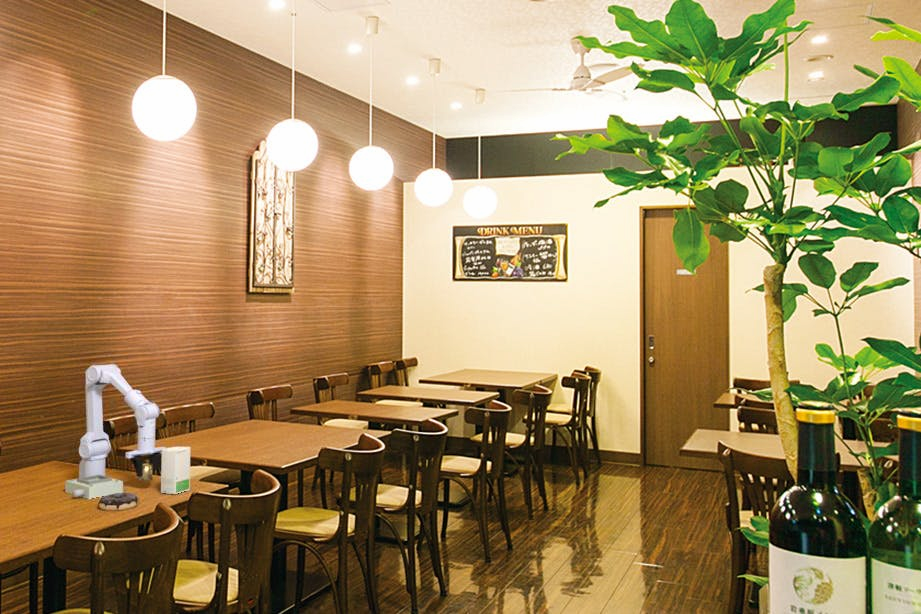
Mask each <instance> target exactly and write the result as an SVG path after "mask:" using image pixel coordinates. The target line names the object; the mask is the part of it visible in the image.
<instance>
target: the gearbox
mask: <svg viewBox="0 0 921 614" xmlns="http://www.w3.org/2000/svg"><path fill="white" fill-rule="evenodd" d="M64 486H65V487H64V488H65V493H66V492H67V494H69V493H70V495H72V497H73V498H74V499H75V498H83V499H86V498H87V499H86V500H93V499H92V498H94V499H97V498H96V497H99V498H102V496H106V495H110V494H116V493H124V481H123V480H119V479H116V478H113V477H110V476H106V475H105V476H103V475H95V476H89V477H83V478H79V477H78V478H75V479H74V478H73V479H69V480H65V485H64ZM80 496H81V497H80Z"/></svg>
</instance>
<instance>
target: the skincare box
mask: <svg viewBox="0 0 921 614" xmlns="http://www.w3.org/2000/svg"><path fill="white" fill-rule="evenodd" d="M191 448H192V447H191V446H172V447H166V449H162V453H161V454H162V457H161V471H160V472H161V475H160V481H161V482H160V494H162V493H166V494H165V495H171V494H174V496H175V494H176V495H178V493H179V494H182V493H185V492H184V491H186V492H188V491H190V490H191ZM181 492H182V493H181Z"/></svg>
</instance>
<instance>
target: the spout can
mask: <svg viewBox="0 0 921 614" xmlns="http://www.w3.org/2000/svg"><path fill="white" fill-rule="evenodd" d="M152 472H153V464H150V463H149V462H148V463H143V466H142V477H138V481H139V482H150V481H151V482H152V481H153V475H152Z"/></svg>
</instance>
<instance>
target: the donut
mask: <svg viewBox="0 0 921 614" xmlns="http://www.w3.org/2000/svg"><path fill="white" fill-rule="evenodd" d="M138 505H139V497H138V496H137V494H134V493H131V492H123V493H116V494H110V495H106V496H104V497H100V499H99V501H98V503H97V507H99V509H100V510H102V511H105V510H106V511H107V512H118V511H117V510H120V511H127V510H130V509H133V508H135V507H137V506H138ZM106 511H105V512H106Z"/></svg>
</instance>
